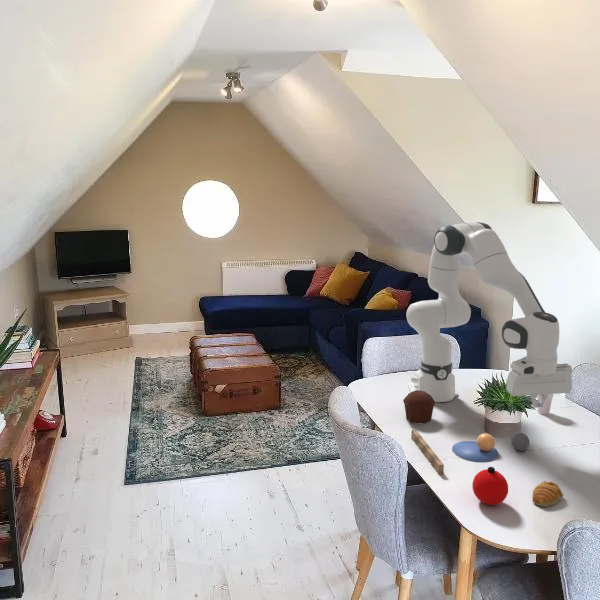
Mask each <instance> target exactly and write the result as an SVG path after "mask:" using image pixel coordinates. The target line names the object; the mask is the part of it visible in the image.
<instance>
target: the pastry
mask: <svg viewBox="0 0 600 600" xmlns="http://www.w3.org/2000/svg"><path fill="white" fill-rule="evenodd" d="M563 496H564V493H563V492H562V489H561V487H560V486H559V485H558V484H557V483H555V482H553V481H546V480H544V481H542V482H541V483H540V484H538V485H536V486H535V488H534V489H533V491H532V502H533V504H534V505H537V506H539V507H543V508H548V507H550V506H553V505H556V504H557V503H558V502H560V501H561V500H562V498H563Z"/></svg>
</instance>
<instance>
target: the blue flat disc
mask: <svg viewBox="0 0 600 600" xmlns="http://www.w3.org/2000/svg"><path fill="white" fill-rule="evenodd" d="M451 448H452V452H453V454H454V453H455V454H454V455H455V456H457V457H458V456H459V458H460V457H461V459H463V460H465V459H466V461H470V462H474V461H475V463H488V462H492V461H495V460H496V459H497V458H498V457H499V451H498V450H497V448H496V447H494V448H493V449H492V450H490V451H483V450H481V449H480V448H479V447H478V445H477V440H463V441H458V442H456V443H455V444H453V445H452V447H451Z"/></svg>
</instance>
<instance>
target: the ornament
mask: <svg viewBox="0 0 600 600" xmlns="http://www.w3.org/2000/svg"><path fill="white" fill-rule="evenodd" d="M471 487H472V491H473V494H474V496H475V497H476V499H477V500H478V501H480V502H481V503H483V504H485V505H488V506H497V505H499V504H501V503H503V502H505V500H506V499H507V496H508V494H509V485H508V481H507V479H506V477H505V476H504V475H503V474H502V473H501V472H499V471H497V470H496V469H495V467H494V466H488V467H487V468H486V469H482V470H481V471H479V472H477V474H476V475H475V476H474V477H473V480H472V486H471Z"/></svg>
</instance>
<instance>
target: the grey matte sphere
mask: <svg viewBox="0 0 600 600" xmlns="http://www.w3.org/2000/svg"><path fill="white" fill-rule="evenodd" d="M510 442H511V446H512V447H513V448H514V449H515V450H517V451H522V452H523V451H525V450H527V449H528V448H529V447H530V444H531V441H530V438H529V436H527V435H526V433H522V432H515V433H514V434H513V435H512V437H511V439H510Z"/></svg>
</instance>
